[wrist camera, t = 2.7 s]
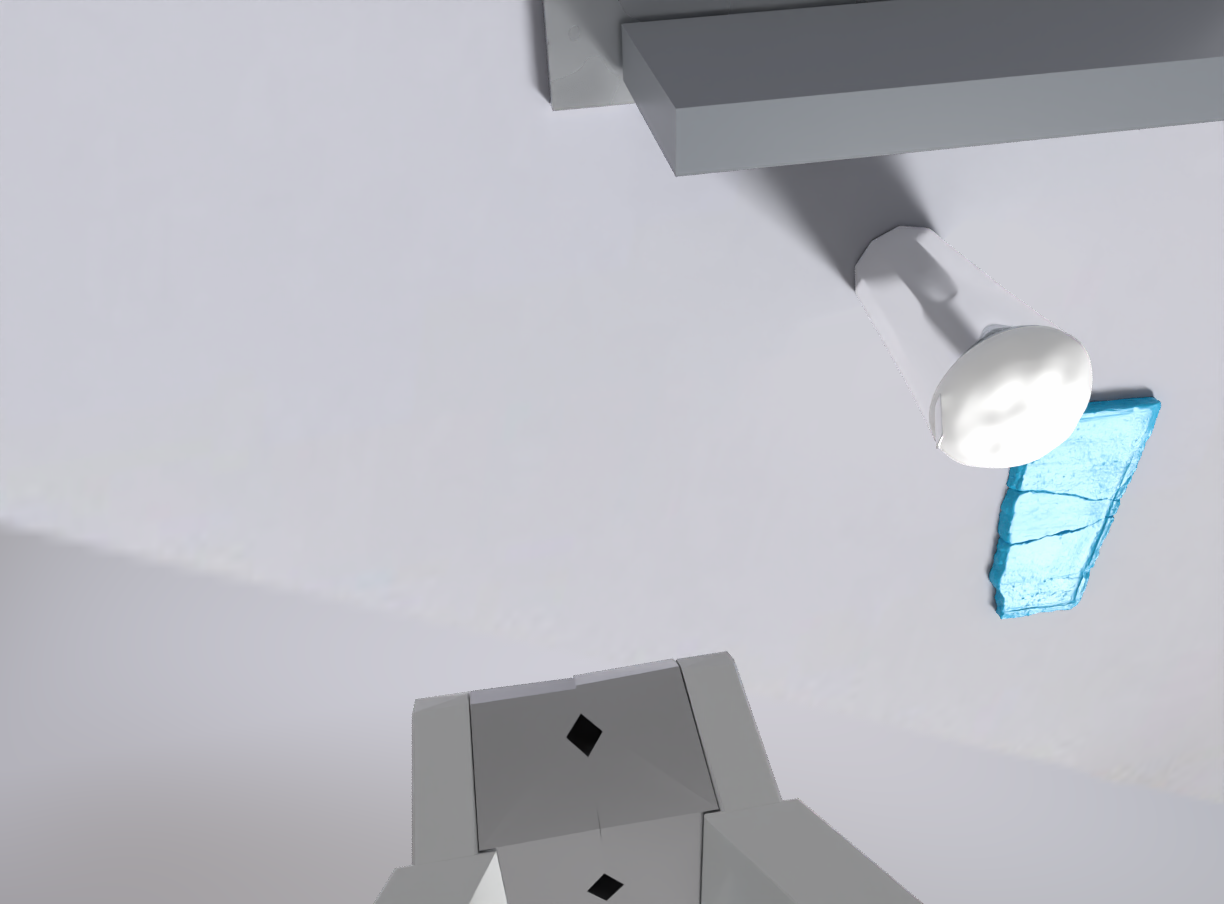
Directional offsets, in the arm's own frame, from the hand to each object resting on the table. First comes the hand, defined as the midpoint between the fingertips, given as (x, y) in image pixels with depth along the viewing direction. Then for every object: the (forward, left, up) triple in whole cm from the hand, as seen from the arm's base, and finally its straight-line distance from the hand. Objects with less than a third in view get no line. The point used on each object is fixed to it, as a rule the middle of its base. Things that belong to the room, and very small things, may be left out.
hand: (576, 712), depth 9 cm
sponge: (-22, +21, -23) cm, 38 cm away
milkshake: (-13, +8, -23) cm, 27 cm away
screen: (-14, 0, -22) cm, 26 cm away
